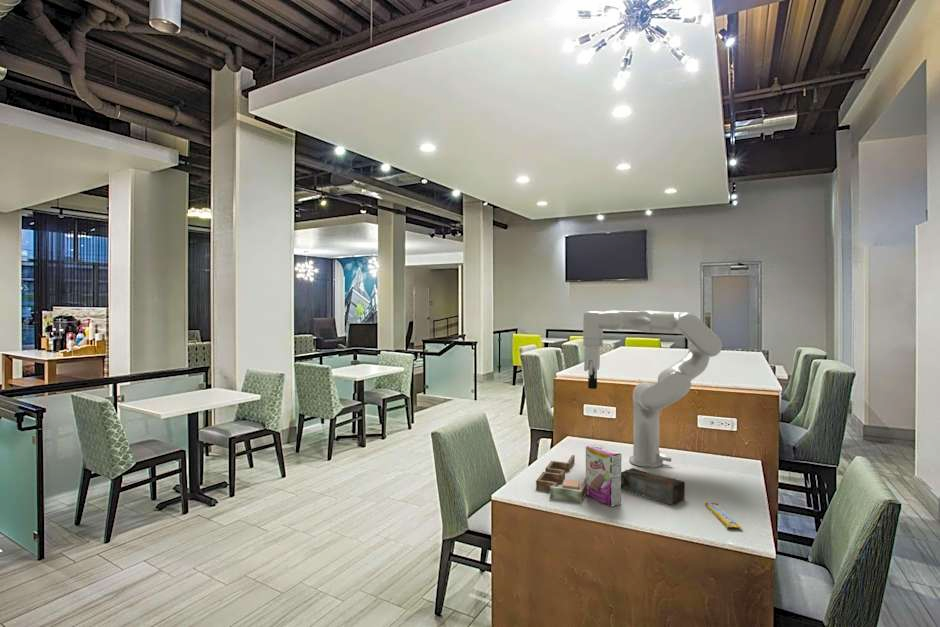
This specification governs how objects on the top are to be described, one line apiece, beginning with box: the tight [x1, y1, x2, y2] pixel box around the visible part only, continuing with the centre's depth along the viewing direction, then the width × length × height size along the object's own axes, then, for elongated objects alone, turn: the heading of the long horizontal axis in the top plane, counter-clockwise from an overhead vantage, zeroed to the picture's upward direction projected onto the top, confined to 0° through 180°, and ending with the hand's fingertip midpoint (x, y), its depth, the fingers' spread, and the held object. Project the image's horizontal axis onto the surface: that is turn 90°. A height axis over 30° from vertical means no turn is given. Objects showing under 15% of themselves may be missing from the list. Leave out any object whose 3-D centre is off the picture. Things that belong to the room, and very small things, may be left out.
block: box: [561, 478, 580, 490], centre depth 164 cm, size 5×6×4 cm
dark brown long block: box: [621, 467, 686, 506], centre depth 164 cm, size 8×19×7 cm, turn 41°
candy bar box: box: [585, 444, 622, 507], centre depth 159 cm, size 11×5×16 cm, turn 32°
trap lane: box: [535, 454, 586, 503], centre depth 177 cm, size 16×38×4 cm, turn 158°
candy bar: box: [704, 502, 744, 530], centre depth 146 cm, size 17×4×2 cm, turn 176°
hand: (592, 388), depth 197 cm, fingers closed
